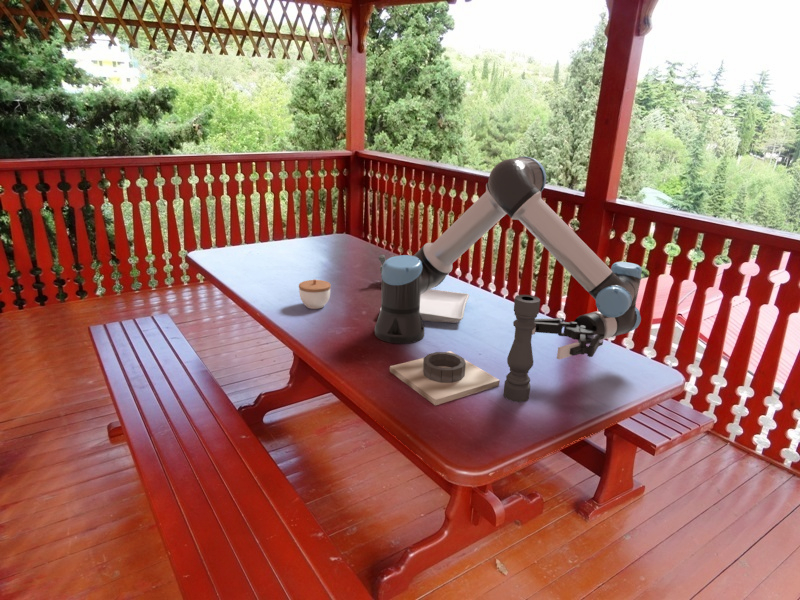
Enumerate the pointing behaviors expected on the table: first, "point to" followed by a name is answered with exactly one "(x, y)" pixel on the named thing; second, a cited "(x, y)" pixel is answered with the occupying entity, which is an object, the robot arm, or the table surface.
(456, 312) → the square plate
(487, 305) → the table surface
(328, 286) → the lidded jar
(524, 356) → the candle holder
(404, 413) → the table surface
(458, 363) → the socket board
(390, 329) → the robot arm
